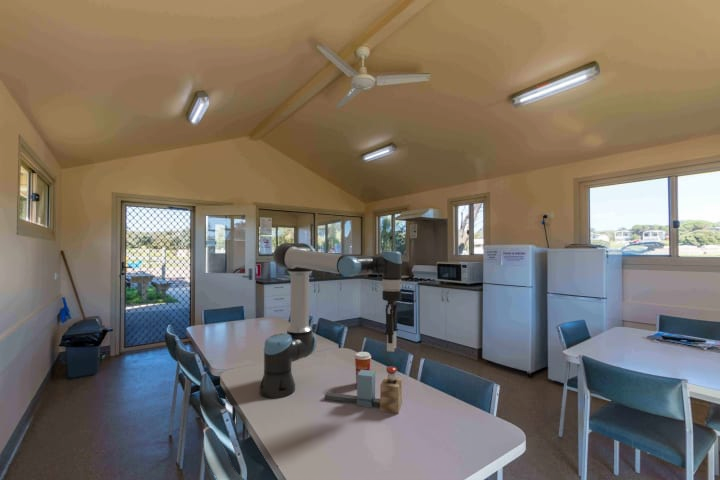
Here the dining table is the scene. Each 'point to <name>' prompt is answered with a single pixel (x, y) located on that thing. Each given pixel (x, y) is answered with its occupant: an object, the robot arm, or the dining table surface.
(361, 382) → the block
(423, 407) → the dining table surface
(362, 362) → the paper cup
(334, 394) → the rail
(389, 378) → the plunger
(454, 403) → the dining table surface
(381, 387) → the housing
